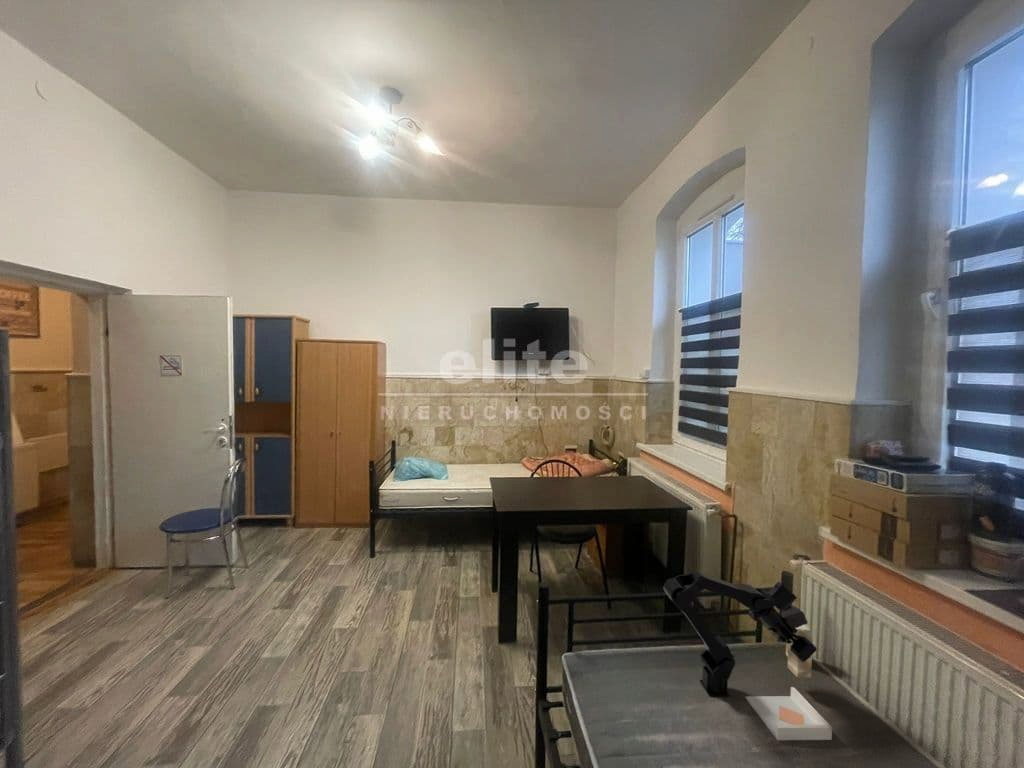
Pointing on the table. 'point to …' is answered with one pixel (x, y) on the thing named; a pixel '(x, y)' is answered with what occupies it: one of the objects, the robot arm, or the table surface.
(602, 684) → the table surface
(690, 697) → the table surface
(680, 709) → the table surface
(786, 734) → the tray
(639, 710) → the table surface
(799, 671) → the birch block
